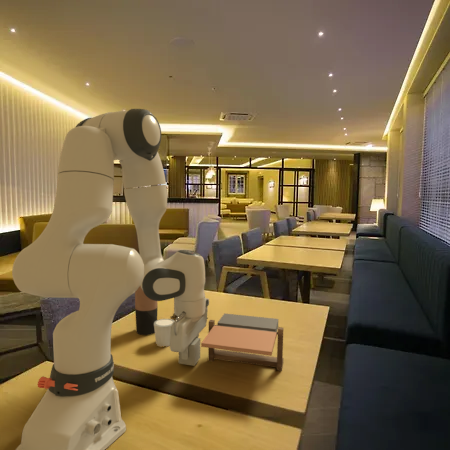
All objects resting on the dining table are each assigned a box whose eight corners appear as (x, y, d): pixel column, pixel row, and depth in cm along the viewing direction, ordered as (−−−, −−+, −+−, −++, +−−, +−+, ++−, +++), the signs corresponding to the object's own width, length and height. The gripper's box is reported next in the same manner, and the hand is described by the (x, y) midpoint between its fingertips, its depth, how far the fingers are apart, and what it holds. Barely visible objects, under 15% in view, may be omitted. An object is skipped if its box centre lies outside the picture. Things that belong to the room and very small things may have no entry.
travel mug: (155, 325, 129) (155, 272, 126) (159, 333, 121) (159, 277, 119) (134, 328, 126) (133, 273, 124) (137, 336, 119) (136, 279, 117)
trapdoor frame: (281, 371, 97) (283, 329, 96) (208, 360, 103) (208, 321, 101) (283, 362, 102) (284, 323, 101) (212, 353, 107) (213, 315, 106)
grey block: (194, 365, 98) (194, 345, 98) (178, 363, 99) (178, 342, 99) (200, 357, 103) (200, 338, 102) (184, 355, 104) (185, 336, 103)
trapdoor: (271, 360, 85) (271, 351, 85) (201, 351, 90) (201, 342, 90) (279, 326, 106) (280, 319, 106) (222, 320, 111) (222, 313, 110)
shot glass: (171, 348, 110) (170, 327, 110) (150, 346, 112) (150, 325, 111) (178, 339, 117) (178, 319, 116) (158, 337, 118) (158, 317, 118)
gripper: (186, 320, 89) (186, 372, 90) (211, 297, 108) (210, 340, 110) (163, 318, 90) (163, 369, 92) (192, 295, 110) (191, 338, 111)
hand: (189, 353), depth 101 cm, fingers closed on grey block, 5 cm apart
